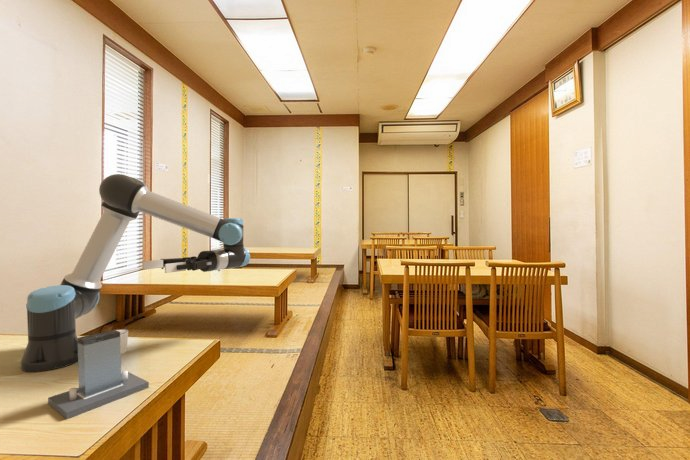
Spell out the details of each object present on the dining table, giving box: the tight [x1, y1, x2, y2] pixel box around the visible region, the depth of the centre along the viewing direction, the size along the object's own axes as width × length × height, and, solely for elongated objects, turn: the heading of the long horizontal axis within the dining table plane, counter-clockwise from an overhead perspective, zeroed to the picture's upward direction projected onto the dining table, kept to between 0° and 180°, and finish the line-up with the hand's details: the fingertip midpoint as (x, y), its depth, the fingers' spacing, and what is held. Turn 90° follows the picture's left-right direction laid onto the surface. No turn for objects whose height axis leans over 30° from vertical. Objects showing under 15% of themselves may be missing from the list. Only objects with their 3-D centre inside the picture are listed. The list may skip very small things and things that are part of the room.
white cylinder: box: [115, 328, 129, 355], centre depth 119 cm, size 7×7×7 cm
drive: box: [77, 329, 122, 398], centre depth 90 cm, size 4×8×14 cm, turn 146°
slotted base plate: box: [47, 370, 150, 420], centre depth 90 cm, size 12×18×4 cm, turn 146°
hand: (153, 267), depth 111 cm, fingers open, 13 cm apart
